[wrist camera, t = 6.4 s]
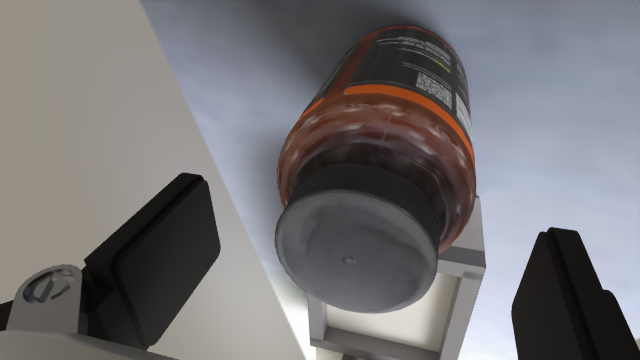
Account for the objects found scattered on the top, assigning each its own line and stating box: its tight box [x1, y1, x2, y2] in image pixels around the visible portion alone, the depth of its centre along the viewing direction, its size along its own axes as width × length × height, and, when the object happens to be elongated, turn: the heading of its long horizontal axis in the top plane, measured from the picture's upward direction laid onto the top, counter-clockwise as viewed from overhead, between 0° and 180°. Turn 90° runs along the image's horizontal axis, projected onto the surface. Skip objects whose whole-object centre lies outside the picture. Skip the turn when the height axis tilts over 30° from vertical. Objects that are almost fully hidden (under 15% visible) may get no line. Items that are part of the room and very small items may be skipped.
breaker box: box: [307, 197, 486, 360], centre depth 22 cm, size 13×8×7 cm, turn 1°
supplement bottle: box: [275, 25, 476, 314], centre depth 14 cm, size 6×6×11 cm
